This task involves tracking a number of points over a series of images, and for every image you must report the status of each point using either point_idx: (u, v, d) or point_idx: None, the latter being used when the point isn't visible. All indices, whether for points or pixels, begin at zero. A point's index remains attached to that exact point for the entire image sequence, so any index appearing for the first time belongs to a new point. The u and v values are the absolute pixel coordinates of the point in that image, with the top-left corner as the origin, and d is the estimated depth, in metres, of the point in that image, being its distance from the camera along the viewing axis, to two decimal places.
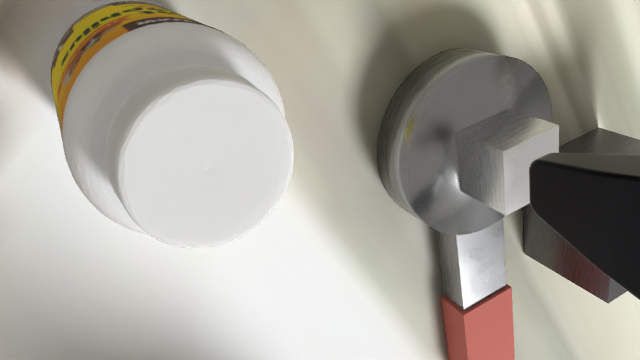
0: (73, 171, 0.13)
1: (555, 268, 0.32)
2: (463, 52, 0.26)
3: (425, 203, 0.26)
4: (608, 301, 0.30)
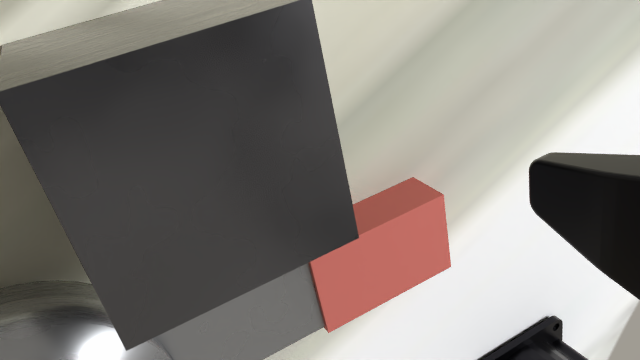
0: None
1: None
2: None
3: None
4: (355, 238, 0.15)
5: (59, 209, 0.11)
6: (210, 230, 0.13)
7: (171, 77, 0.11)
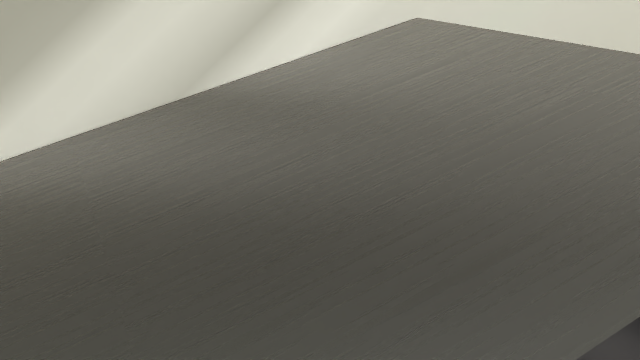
0: None
1: None
2: None
3: None
4: None
5: None
6: None
7: None
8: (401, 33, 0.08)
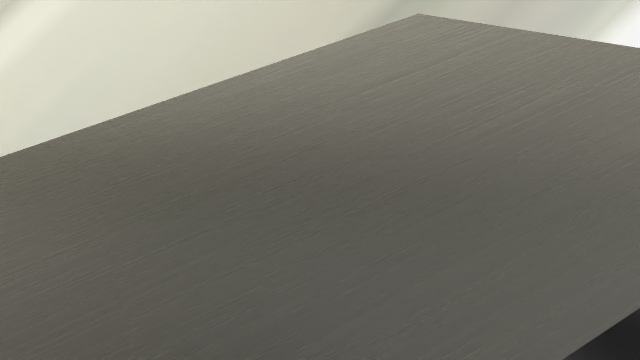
0: None
1: None
2: None
3: None
4: None
5: None
6: None
7: None
8: (402, 29, 0.08)
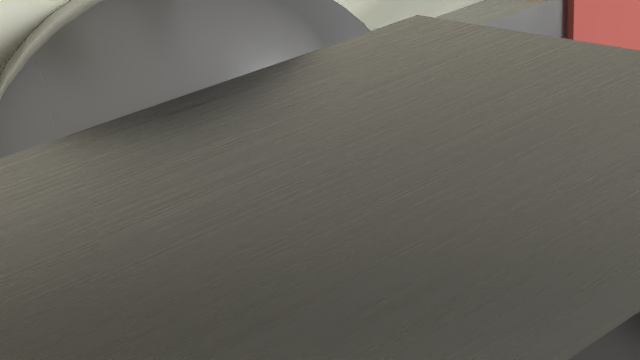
0: None
1: None
2: None
3: None
4: None
5: None
6: None
7: None
8: (401, 30, 0.08)
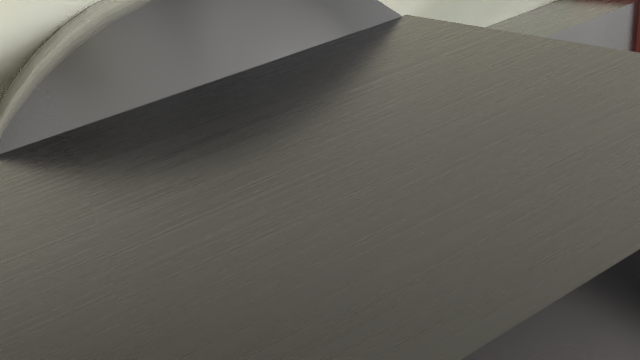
0: None
1: None
2: None
3: None
4: None
5: None
6: None
7: None
8: (389, 29, 0.08)
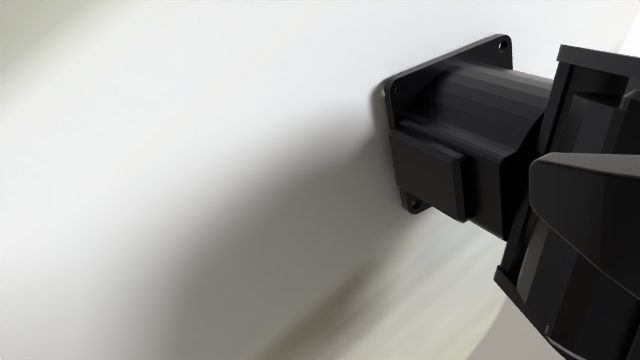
0: None
1: None
2: None
3: None
4: None
5: None
6: None
7: None
8: None
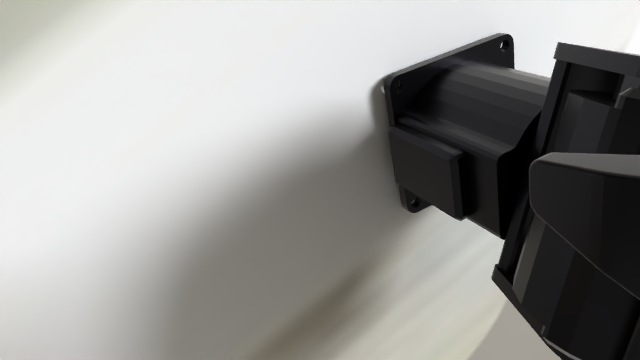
0: None
1: None
2: None
3: None
4: None
5: None
6: None
7: None
8: None
